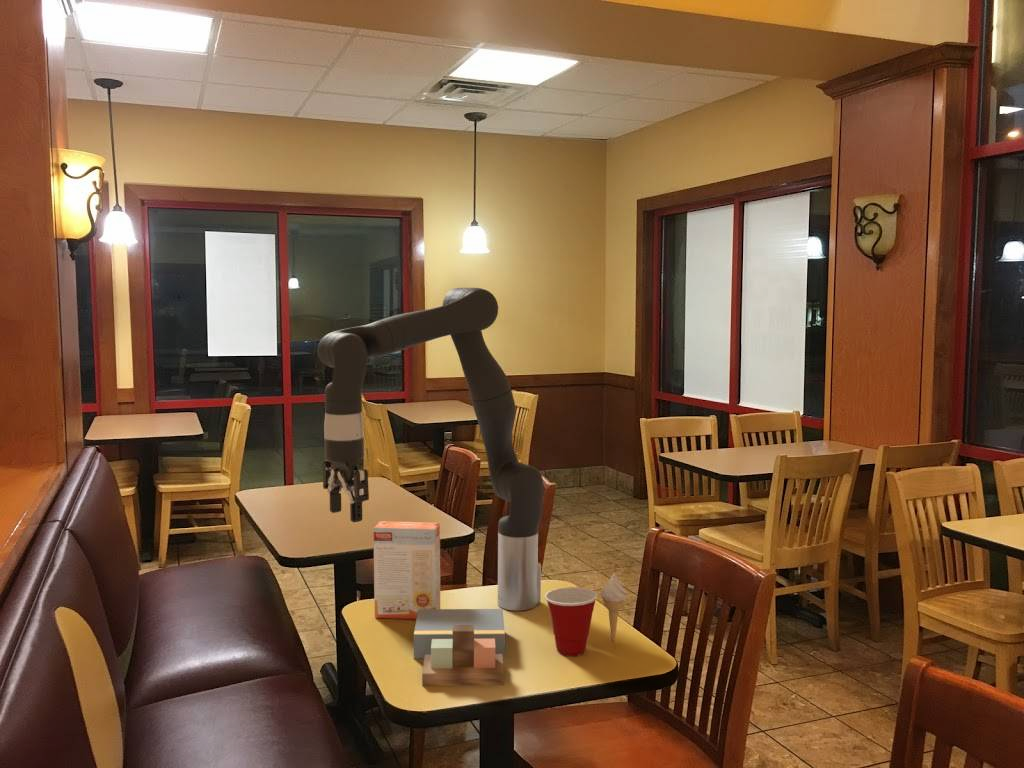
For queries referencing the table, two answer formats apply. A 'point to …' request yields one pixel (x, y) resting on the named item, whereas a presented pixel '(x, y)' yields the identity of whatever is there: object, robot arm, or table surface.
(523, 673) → the table surface
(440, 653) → the pale green cube
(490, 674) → the pallet
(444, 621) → the dock
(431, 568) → the cracker box
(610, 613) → the ice cream cone
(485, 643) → the block
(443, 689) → the table surface
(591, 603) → the plastic cup
